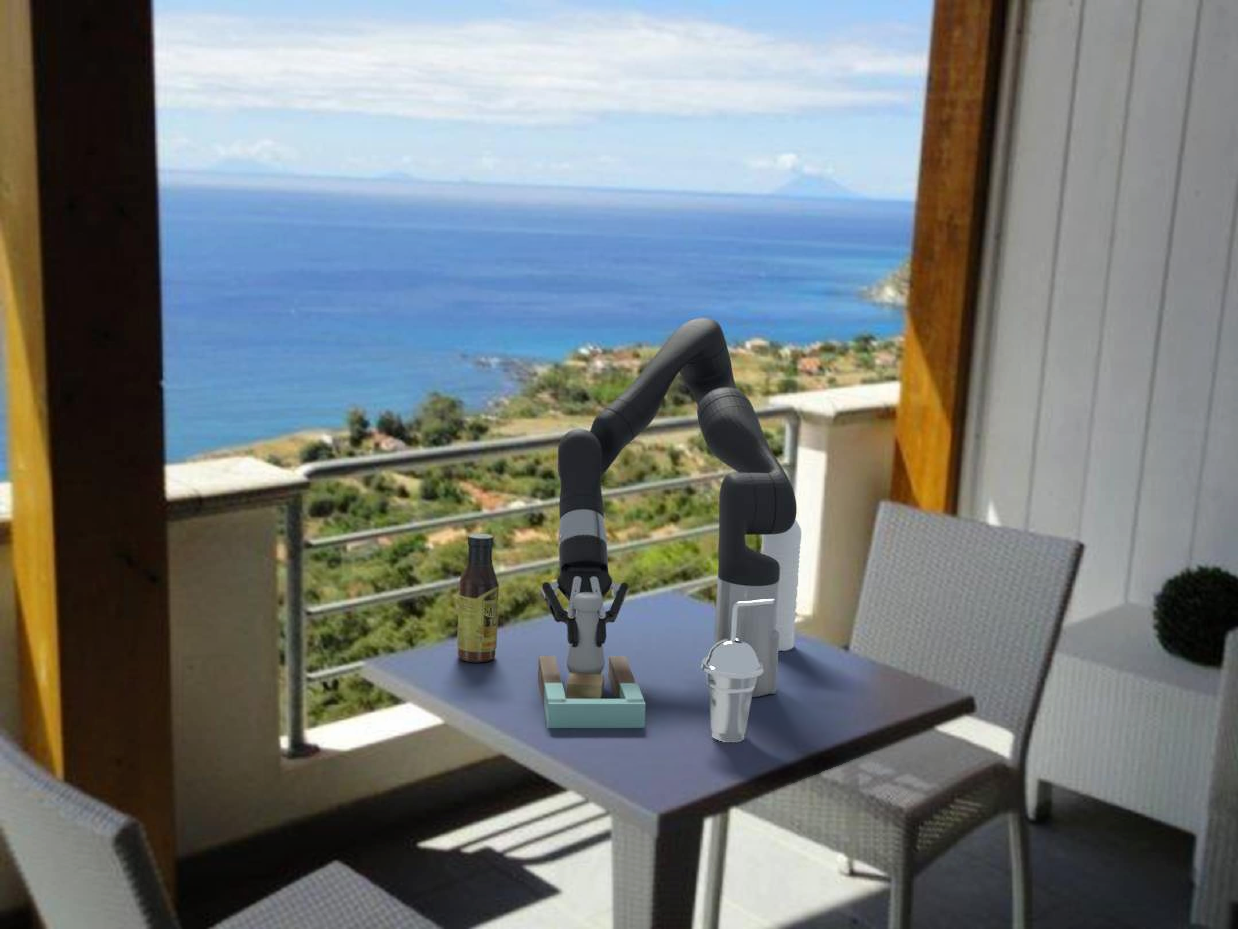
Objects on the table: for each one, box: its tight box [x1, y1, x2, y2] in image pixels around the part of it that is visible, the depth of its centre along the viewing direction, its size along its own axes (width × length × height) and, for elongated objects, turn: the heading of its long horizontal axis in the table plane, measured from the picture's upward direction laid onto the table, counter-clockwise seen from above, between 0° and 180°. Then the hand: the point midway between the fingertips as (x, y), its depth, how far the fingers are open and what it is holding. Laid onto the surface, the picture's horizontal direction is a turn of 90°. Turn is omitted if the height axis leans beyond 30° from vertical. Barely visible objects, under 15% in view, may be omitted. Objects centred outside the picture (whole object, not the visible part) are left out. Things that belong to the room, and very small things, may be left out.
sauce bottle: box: [456, 533, 500, 664], centre depth 206 cm, size 7×6×20 cm
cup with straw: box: [700, 599, 775, 744], centre depth 177 cm, size 8×9×20 cm
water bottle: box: [760, 519, 802, 652], centre depth 218 cm, size 9×6×25 cm
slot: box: [537, 655, 637, 705], centre depth 195 cm, size 13×14×3 cm
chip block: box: [565, 672, 605, 699], centre depth 192 cm, size 5×5×3 cm
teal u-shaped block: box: [543, 682, 646, 729], centre depth 184 cm, size 13×8×4 cm, turn 97°
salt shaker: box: [565, 592, 606, 675], centre depth 196 cm, size 6×6×13 cm
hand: (587, 644), depth 194 cm, fingers closed on salt shaker, 3 cm apart
